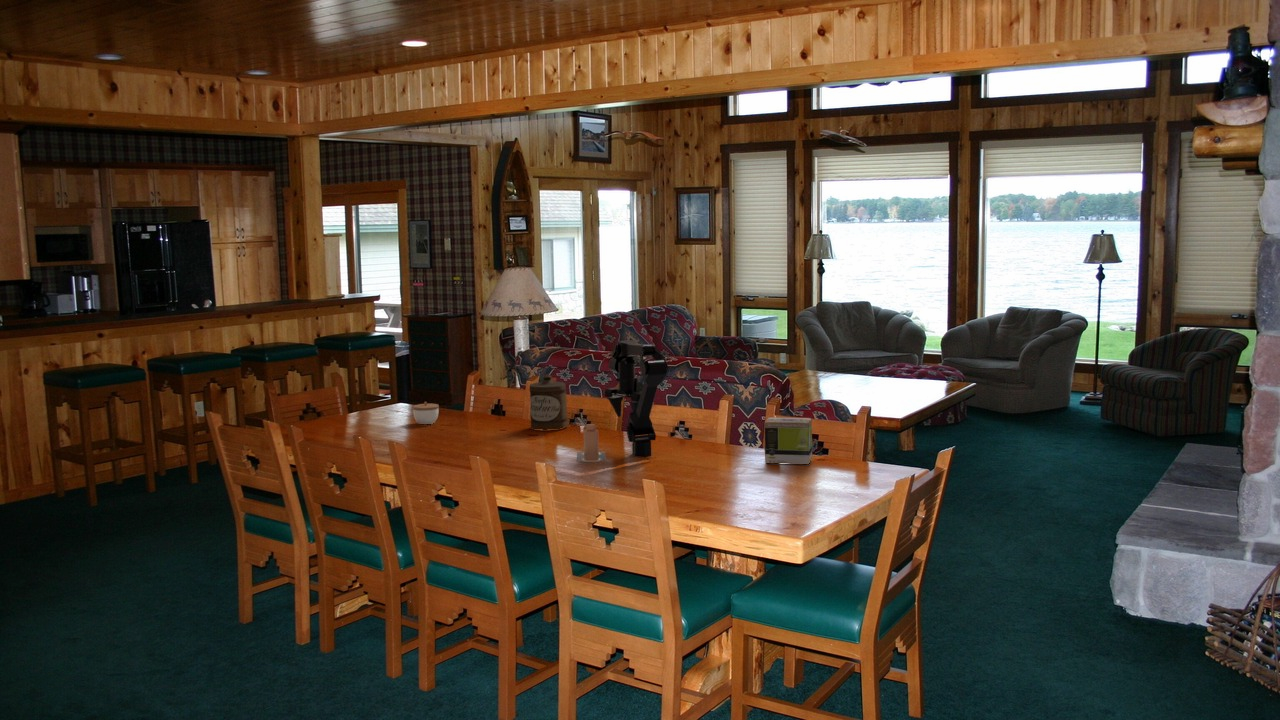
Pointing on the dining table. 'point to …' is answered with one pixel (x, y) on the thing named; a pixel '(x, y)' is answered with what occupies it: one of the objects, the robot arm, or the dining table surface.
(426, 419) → the lidded jar
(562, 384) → the labelled canister
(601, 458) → the slate board
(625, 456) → the dining table surface
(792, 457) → the tea box
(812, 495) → the dining table surface
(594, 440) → the light brown tall cylinder
